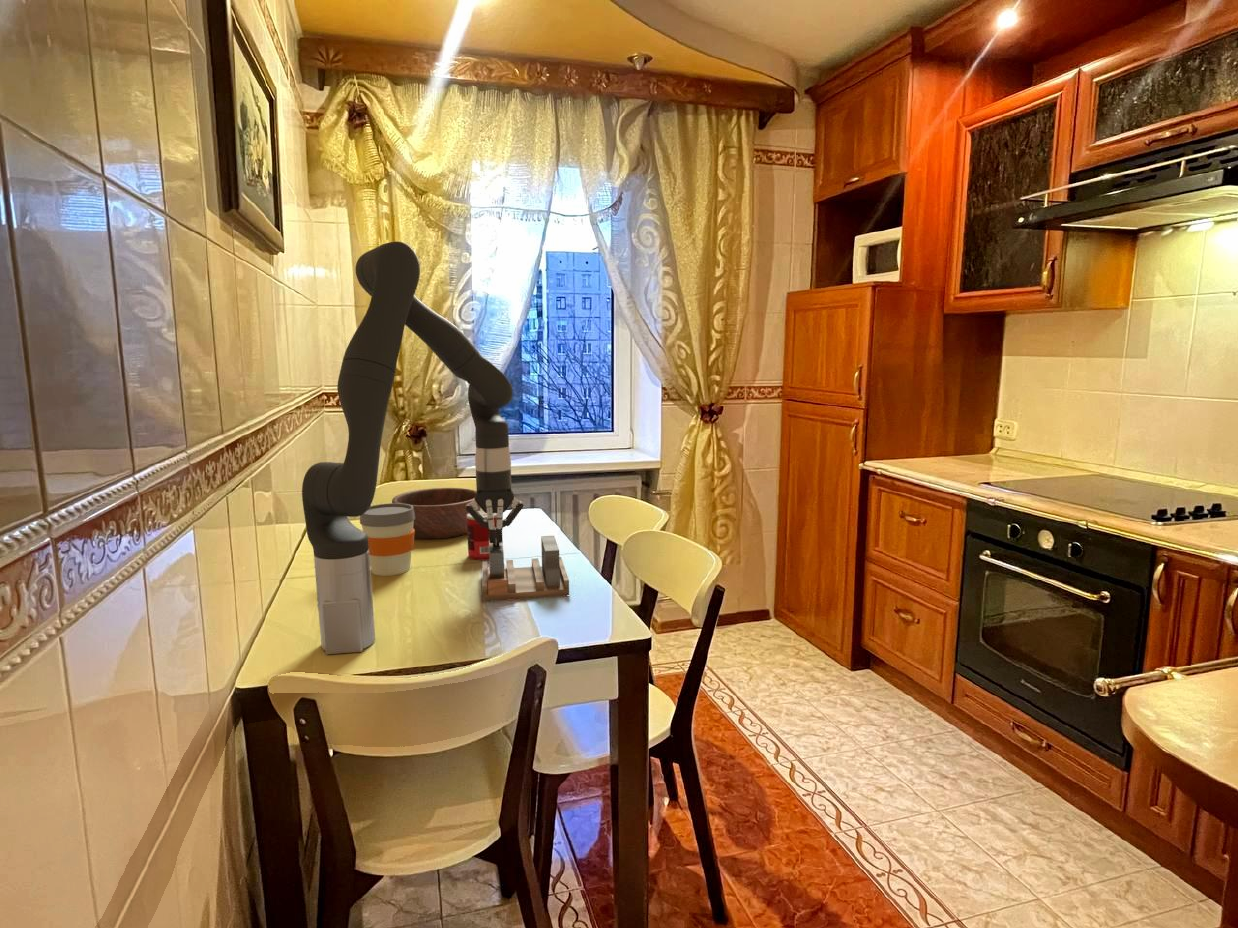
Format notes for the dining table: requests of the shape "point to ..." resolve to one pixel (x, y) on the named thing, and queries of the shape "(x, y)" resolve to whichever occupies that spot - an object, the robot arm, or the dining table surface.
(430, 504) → the wooden bowl
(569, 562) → the dining table surface
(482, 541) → the canned food
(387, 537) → the reusable coffee cup
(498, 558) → the panel
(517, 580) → the rack
